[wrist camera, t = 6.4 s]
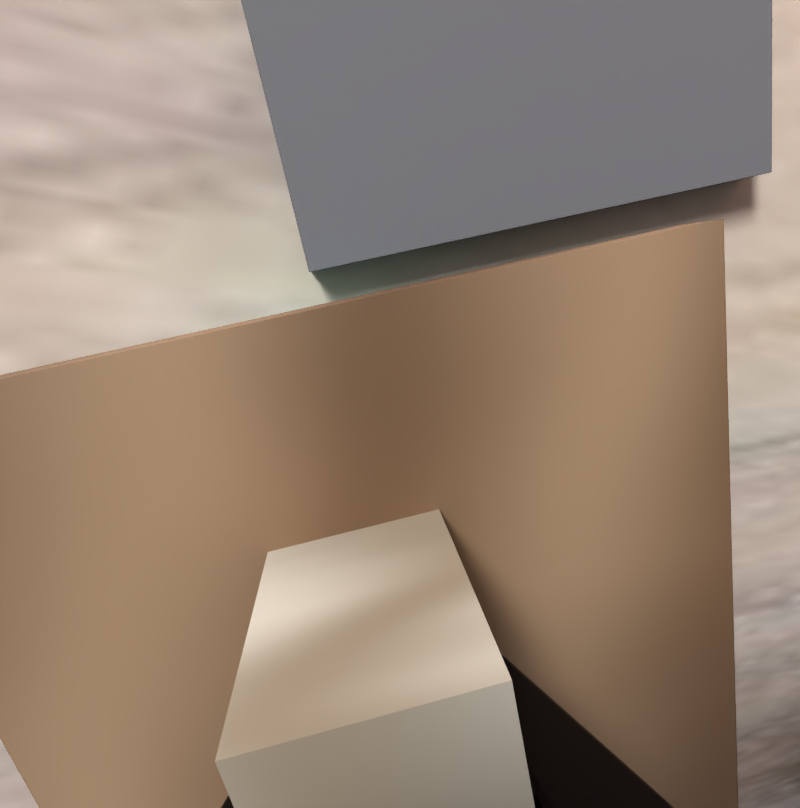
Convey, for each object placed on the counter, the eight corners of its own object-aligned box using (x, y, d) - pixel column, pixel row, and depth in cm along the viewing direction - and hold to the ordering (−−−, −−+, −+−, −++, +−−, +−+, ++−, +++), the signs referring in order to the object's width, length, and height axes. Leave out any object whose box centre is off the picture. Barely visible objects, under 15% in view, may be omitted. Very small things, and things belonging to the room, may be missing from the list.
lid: (681, 224, 7) (1048, 173, 3) (708, 787, 10) (917, 1078, 6) (-118, 401, 6) (-719, 571, 3) (166, 946, 9) (57, 1373, 6)
